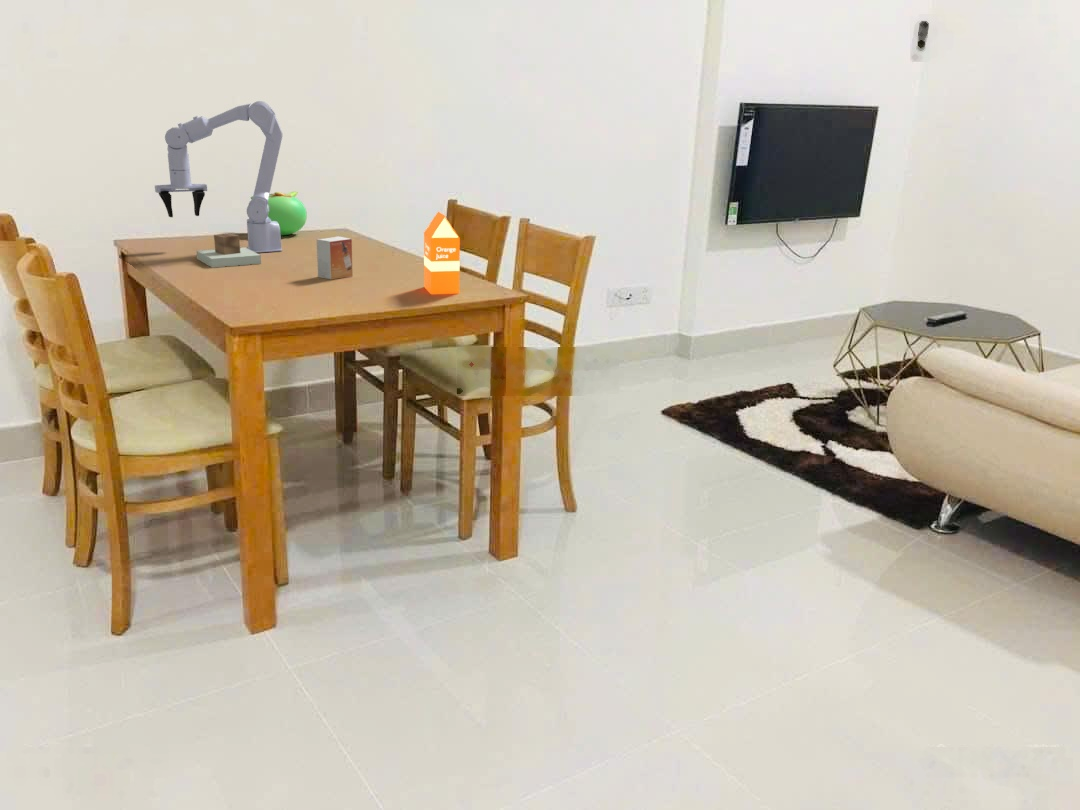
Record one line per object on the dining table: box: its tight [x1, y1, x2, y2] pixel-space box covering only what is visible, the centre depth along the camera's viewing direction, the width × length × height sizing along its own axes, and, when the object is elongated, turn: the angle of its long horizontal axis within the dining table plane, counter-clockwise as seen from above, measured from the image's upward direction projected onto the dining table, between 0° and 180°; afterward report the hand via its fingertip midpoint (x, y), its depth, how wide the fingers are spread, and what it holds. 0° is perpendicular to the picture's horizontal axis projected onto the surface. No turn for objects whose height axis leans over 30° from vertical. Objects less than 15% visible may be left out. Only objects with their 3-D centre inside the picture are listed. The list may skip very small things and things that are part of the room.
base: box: [196, 246, 262, 268], centre depth 256 cm, size 14×14×2 cm
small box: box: [316, 235, 354, 281], centre depth 242 cm, size 8×6×10 cm
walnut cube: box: [213, 232, 241, 255], centre depth 255 cm, size 5×5×5 cm
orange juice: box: [423, 211, 461, 295], centre depth 230 cm, size 8×9×20 cm
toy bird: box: [250, 191, 308, 236], centre depth 301 cm, size 18×17×15 cm
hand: (184, 216), depth 266 cm, fingers open, 7 cm apart
